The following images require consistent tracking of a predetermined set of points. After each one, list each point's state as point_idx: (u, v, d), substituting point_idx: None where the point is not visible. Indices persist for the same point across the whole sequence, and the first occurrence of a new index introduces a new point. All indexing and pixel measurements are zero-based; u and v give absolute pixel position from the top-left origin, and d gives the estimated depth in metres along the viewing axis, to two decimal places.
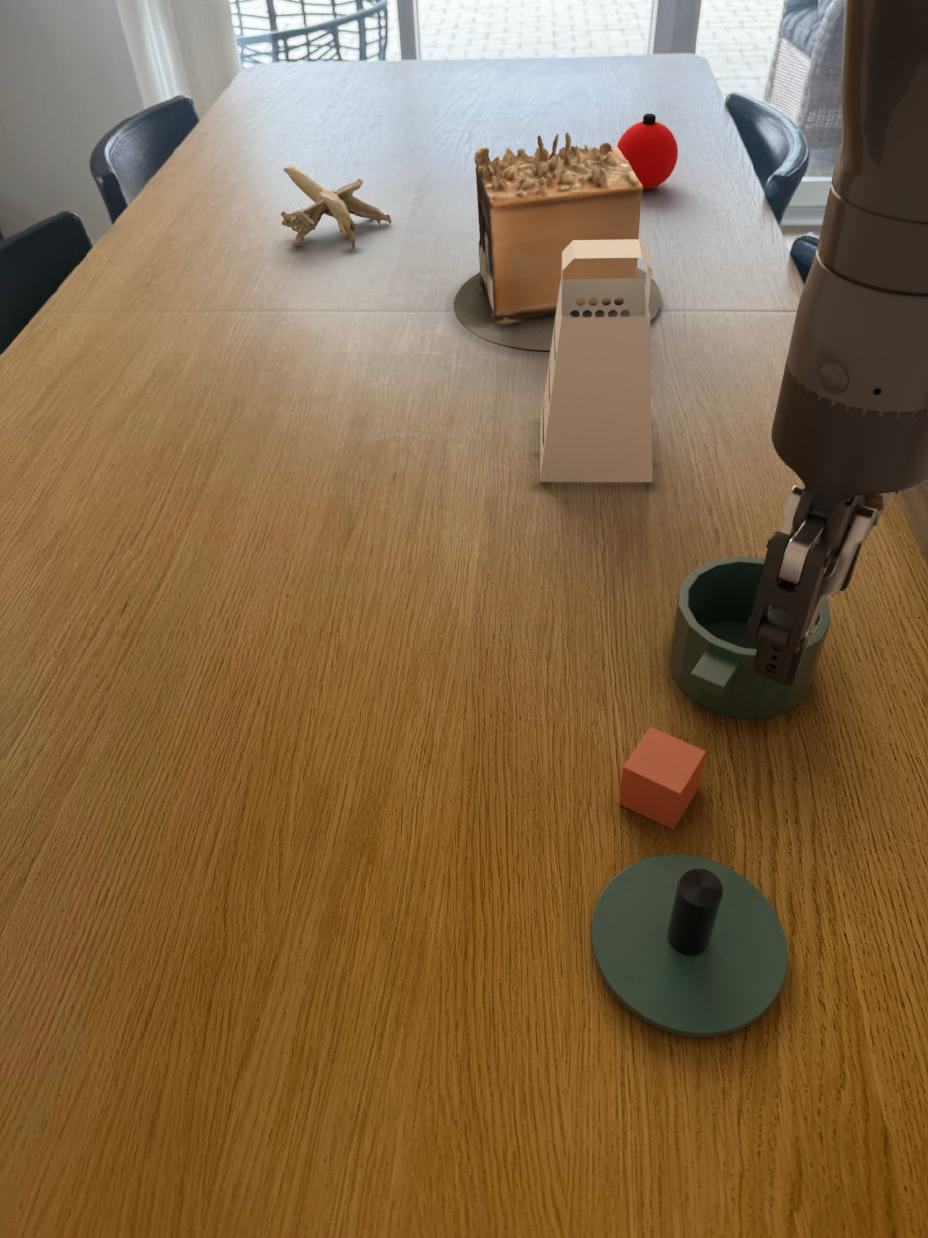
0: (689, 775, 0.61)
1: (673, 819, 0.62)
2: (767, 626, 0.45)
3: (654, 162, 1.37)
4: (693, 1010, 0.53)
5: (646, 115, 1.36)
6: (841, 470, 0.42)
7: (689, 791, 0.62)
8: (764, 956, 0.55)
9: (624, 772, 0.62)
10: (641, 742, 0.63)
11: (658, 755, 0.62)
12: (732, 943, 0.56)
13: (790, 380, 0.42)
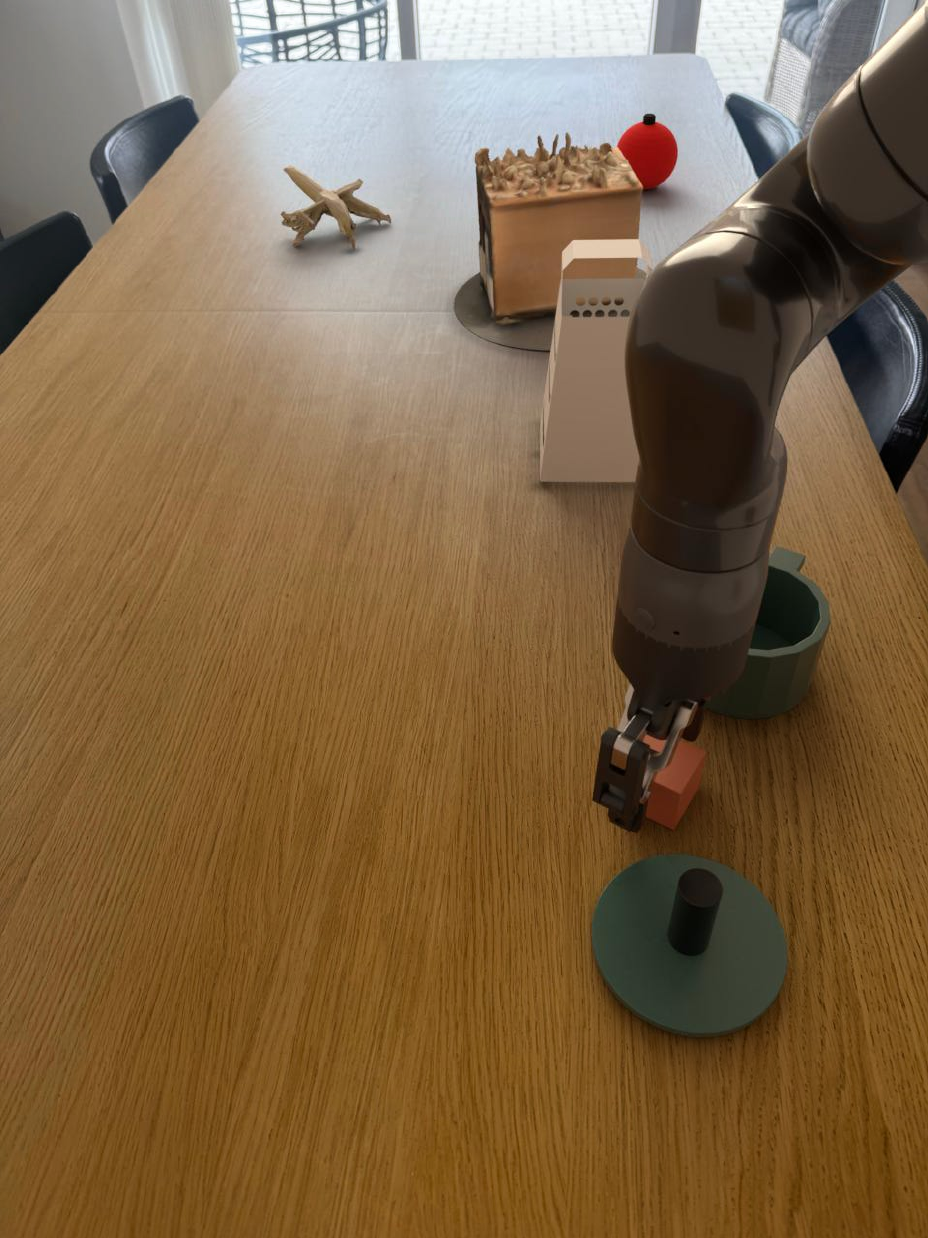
0: (689, 775, 0.61)
1: (673, 819, 0.62)
2: (607, 796, 0.56)
3: (654, 162, 1.37)
4: (693, 1010, 0.53)
5: (646, 115, 1.36)
6: (657, 683, 0.52)
7: (689, 791, 0.62)
8: (764, 956, 0.55)
9: None
10: None
11: None
12: (732, 943, 0.56)
13: (618, 609, 0.52)
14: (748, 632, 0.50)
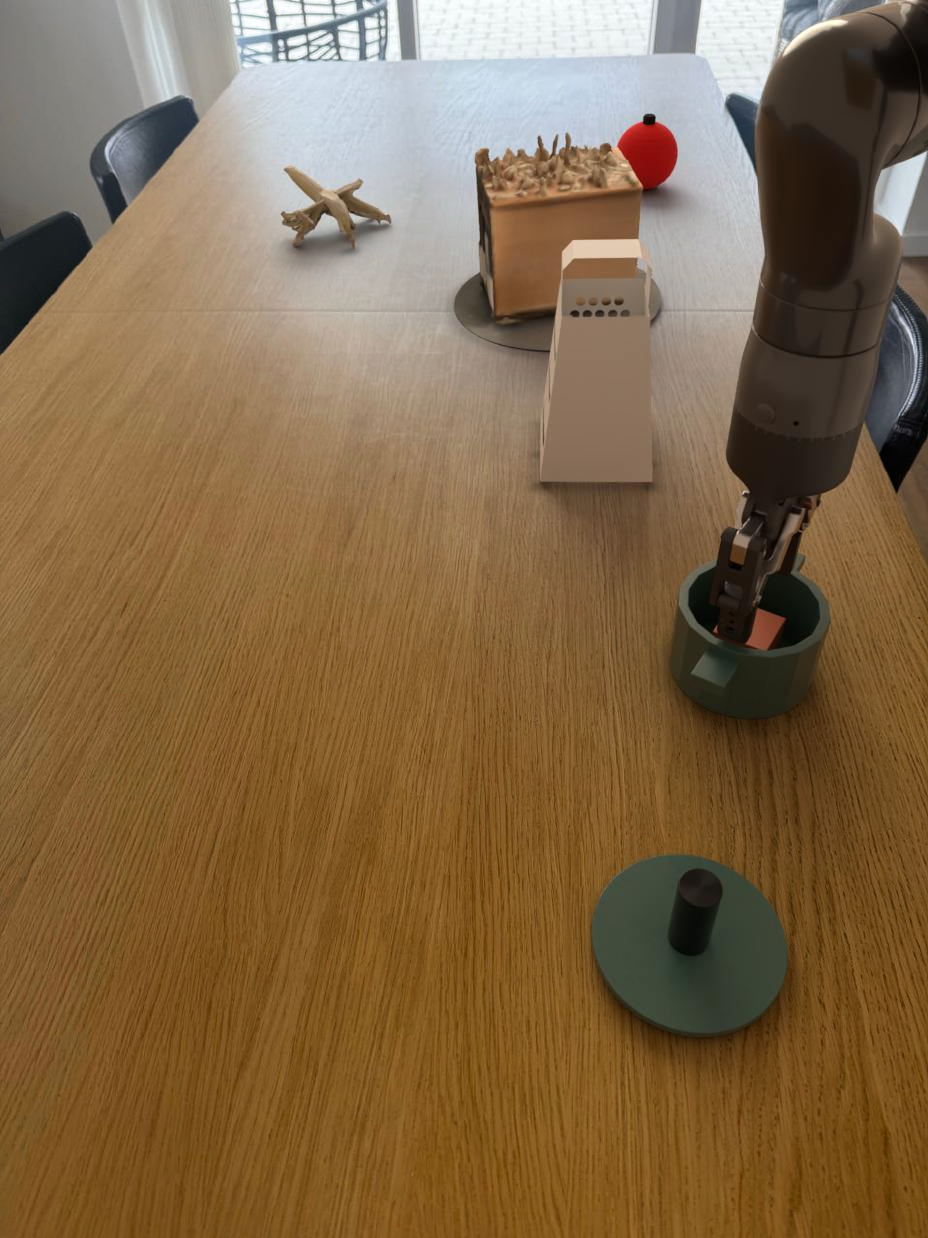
0: (772, 637, 0.69)
1: None
2: (724, 596, 0.61)
3: (654, 162, 1.37)
4: (693, 1010, 0.53)
5: (646, 115, 1.36)
6: (774, 479, 0.57)
7: None
8: (764, 956, 0.55)
9: None
10: None
11: None
12: (732, 943, 0.56)
13: (736, 414, 0.57)
14: (858, 427, 0.56)
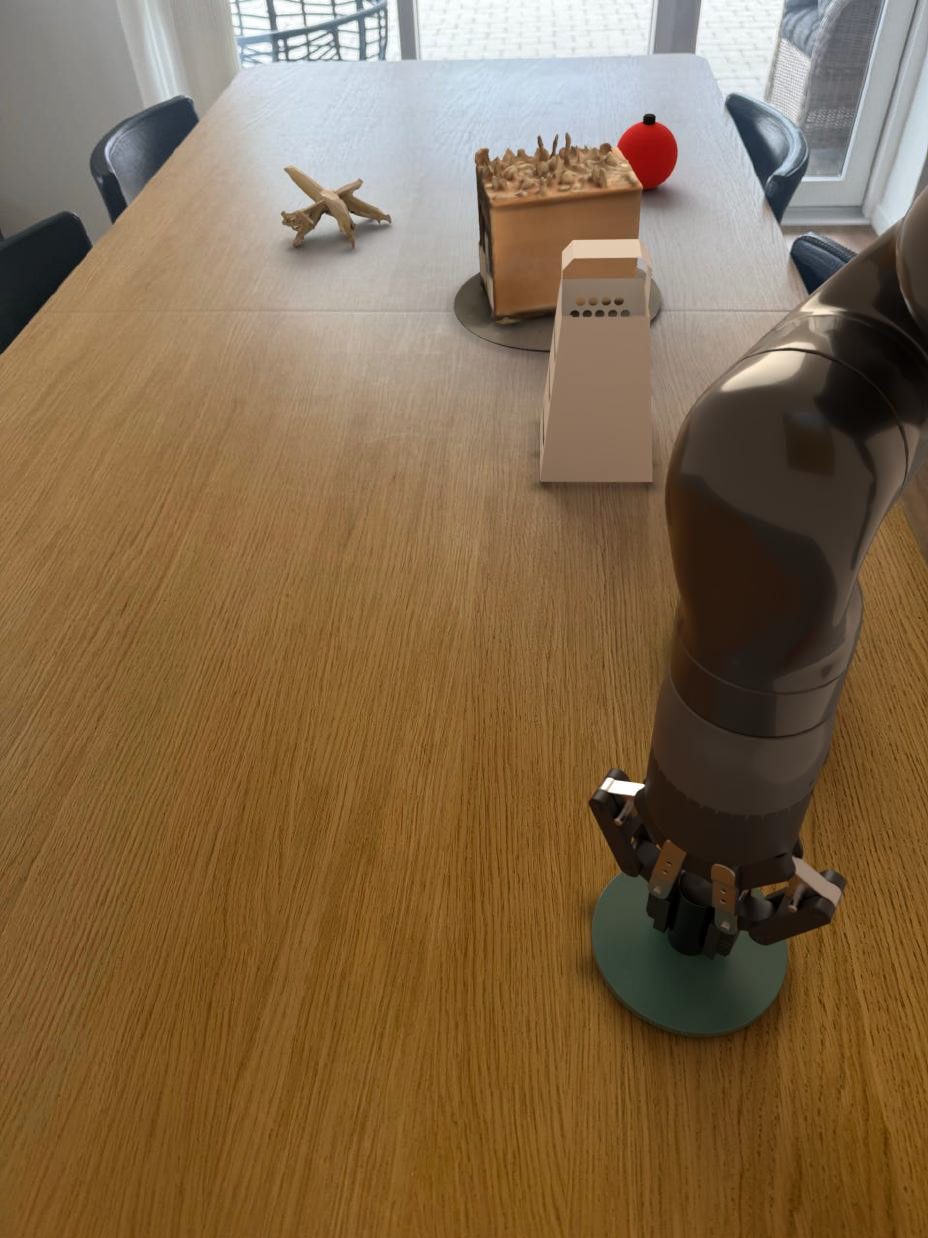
0: None
1: None
2: (637, 841, 0.54)
3: (654, 162, 1.37)
4: (693, 1010, 0.53)
5: (646, 115, 1.36)
6: None
7: None
8: (764, 956, 0.55)
9: None
10: None
11: None
12: None
13: None
14: (690, 801, 0.42)
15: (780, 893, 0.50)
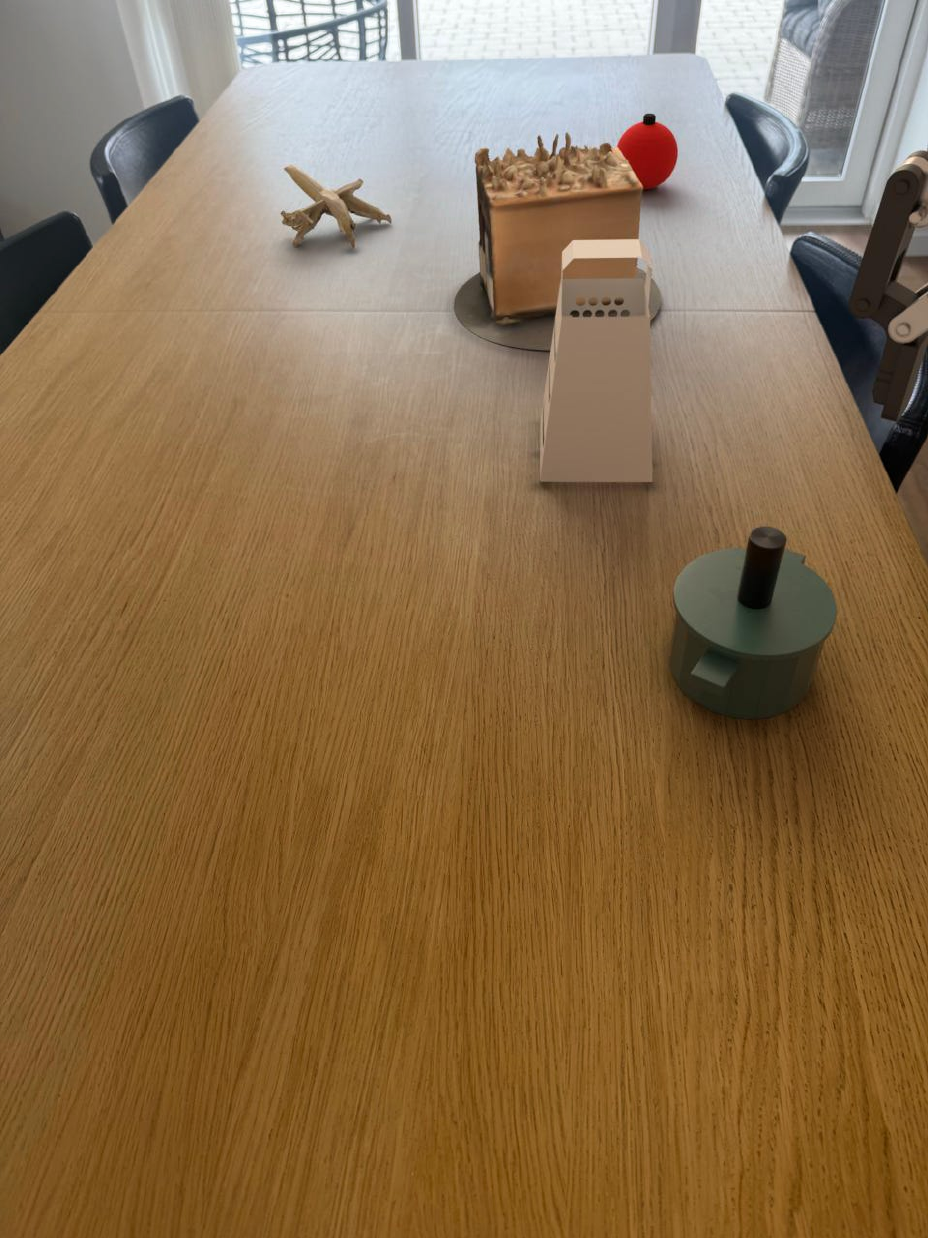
0: None
1: None
2: None
3: (654, 162, 1.37)
4: (762, 641, 0.65)
5: (646, 115, 1.36)
6: None
7: None
8: (817, 608, 0.67)
9: None
10: None
11: None
12: (791, 601, 0.68)
13: None
14: None
15: None
